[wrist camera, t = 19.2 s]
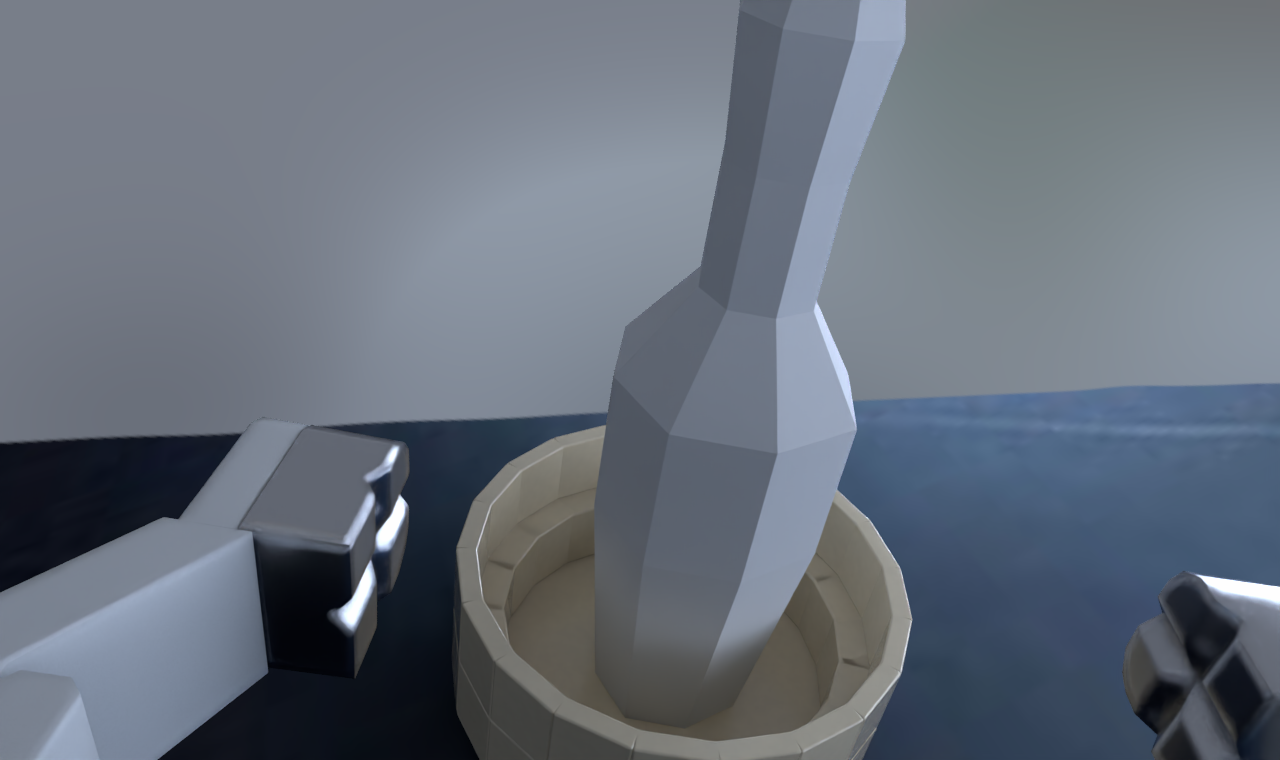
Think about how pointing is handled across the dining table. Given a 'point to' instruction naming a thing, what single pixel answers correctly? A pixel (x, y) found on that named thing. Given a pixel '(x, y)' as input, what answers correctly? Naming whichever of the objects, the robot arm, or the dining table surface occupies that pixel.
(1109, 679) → the dining table surface
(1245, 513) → the dining table surface
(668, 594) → the faceted bottle
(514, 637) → the bowl
